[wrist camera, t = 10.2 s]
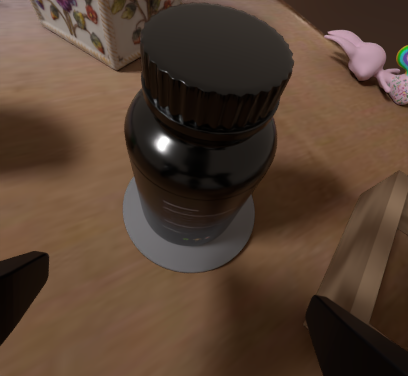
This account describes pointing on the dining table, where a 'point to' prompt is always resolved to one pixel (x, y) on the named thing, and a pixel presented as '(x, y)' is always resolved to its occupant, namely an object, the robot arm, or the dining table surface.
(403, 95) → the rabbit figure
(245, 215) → the coaster
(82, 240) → the dining table surface
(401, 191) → the walnut box
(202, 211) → the supplement bottle
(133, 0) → the decorative jar
